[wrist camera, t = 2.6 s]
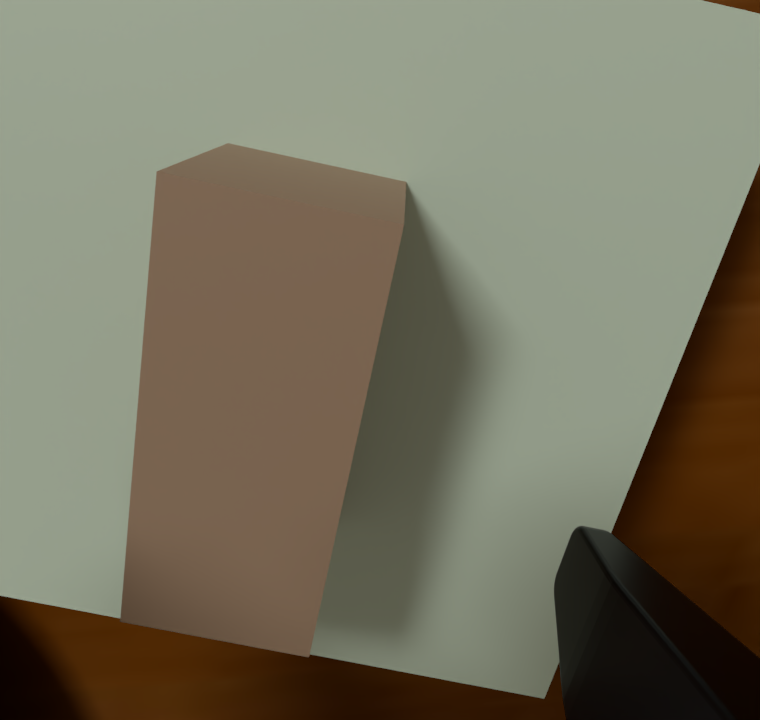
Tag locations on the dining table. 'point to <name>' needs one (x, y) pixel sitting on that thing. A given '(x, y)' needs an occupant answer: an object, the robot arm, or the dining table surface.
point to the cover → (350, 305)
